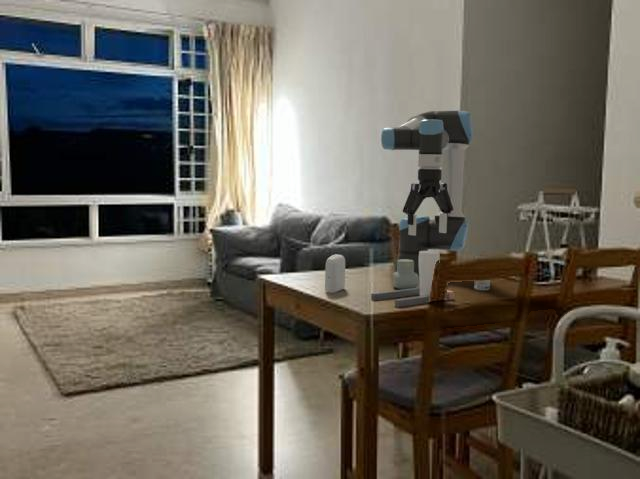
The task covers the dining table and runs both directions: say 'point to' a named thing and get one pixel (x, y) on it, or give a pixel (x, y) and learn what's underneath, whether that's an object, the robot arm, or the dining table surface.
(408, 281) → the air freshener
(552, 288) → the dining table surface
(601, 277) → the dining table surface
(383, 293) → the guide channel
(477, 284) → the energy drink
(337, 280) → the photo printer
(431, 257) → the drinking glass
